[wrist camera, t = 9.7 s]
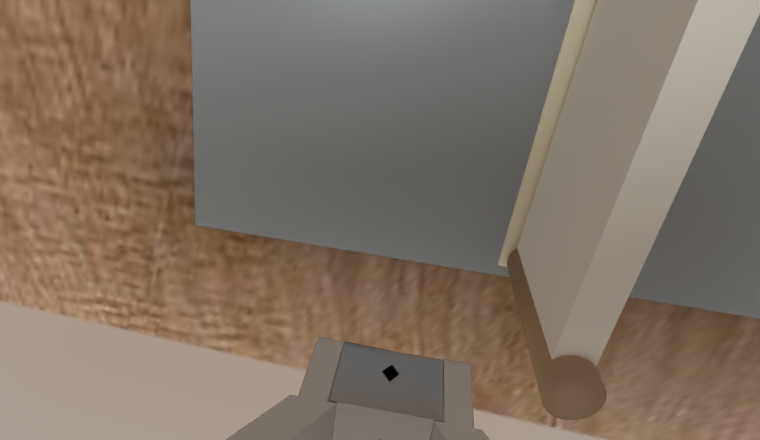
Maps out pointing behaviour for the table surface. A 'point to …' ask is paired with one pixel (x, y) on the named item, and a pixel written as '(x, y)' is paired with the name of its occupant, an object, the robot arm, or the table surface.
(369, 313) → the table surface
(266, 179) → the board
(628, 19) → the panel
